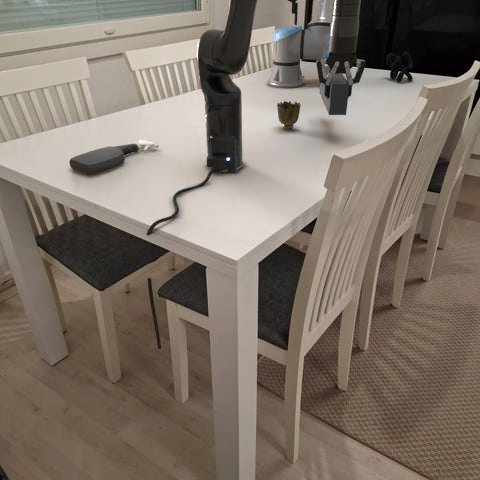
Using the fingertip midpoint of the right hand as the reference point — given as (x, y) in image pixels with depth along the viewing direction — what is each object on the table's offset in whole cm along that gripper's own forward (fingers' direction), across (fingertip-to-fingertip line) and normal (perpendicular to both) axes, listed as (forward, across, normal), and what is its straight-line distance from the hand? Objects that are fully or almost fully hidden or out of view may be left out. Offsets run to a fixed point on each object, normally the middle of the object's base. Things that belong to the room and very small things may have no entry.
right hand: (315, 24), depth 152 cm
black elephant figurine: (+28, -44, -42) cm, 67 cm away
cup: (+28, +9, +26) cm, 40 cm away
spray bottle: (+28, +58, +53) cm, 83 cm away
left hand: (+15, -4, +37) cm, 40 cm away
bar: (+19, -4, +28) cm, 34 cm away
